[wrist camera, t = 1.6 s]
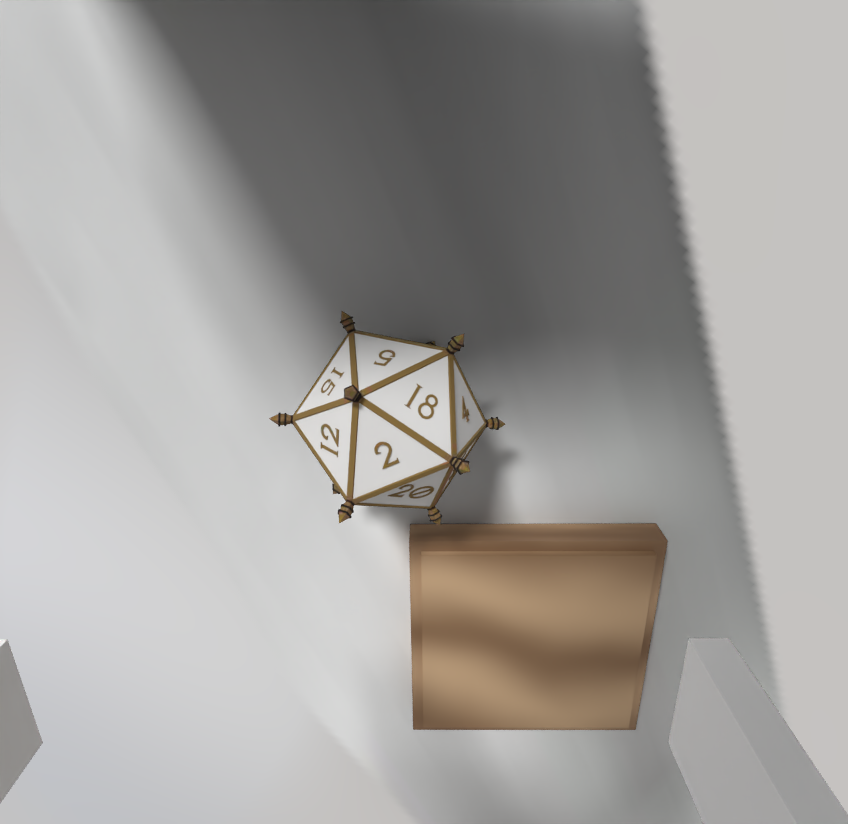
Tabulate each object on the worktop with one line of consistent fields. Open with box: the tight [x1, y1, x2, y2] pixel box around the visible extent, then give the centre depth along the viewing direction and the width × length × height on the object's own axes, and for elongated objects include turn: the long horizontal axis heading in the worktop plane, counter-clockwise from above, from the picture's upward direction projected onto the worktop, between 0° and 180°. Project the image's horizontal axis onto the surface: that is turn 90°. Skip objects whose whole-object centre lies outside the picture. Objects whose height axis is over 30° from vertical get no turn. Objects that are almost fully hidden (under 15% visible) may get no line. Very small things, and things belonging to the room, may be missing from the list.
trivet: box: [409, 523, 668, 730], centre depth 32 cm, size 13×13×2 cm
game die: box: [269, 311, 505, 526], centre depth 24 cm, size 9×8×10 cm
